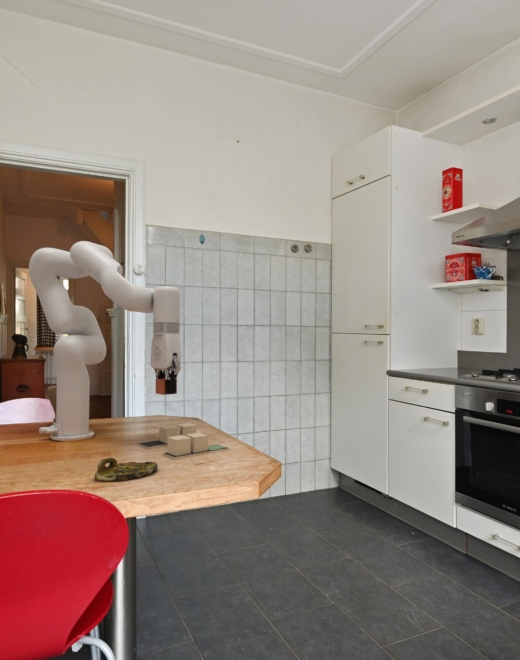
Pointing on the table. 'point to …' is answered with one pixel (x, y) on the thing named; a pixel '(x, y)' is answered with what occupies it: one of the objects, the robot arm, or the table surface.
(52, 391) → the stone cup
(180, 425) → the left rack
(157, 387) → the rust orange cube
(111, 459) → the seal
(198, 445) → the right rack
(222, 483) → the table surface
